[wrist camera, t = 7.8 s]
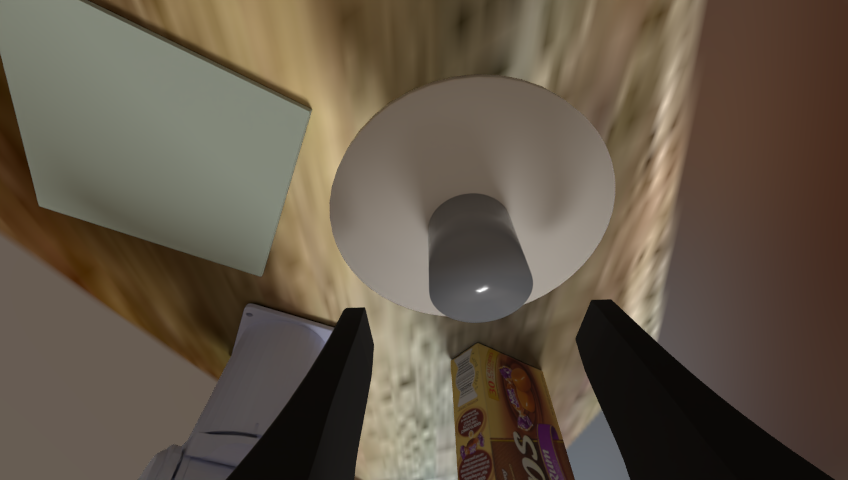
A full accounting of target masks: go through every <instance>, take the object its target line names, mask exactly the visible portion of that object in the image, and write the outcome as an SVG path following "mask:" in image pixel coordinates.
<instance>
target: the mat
mask: <svg viewBox="0 0 848 480" xmlns="http://www.w3.org/2000/svg"><path fill="white" fill-rule="evenodd" d="M0 54H1V58H2V62H3V66H4V69H5V73H6V77H7V81H8V85H9V89H10V93H11V97H12V101H13V105H14V109H15V113H16V117H17V121H18V125H19V129H20V133H21V137H22V141H23V145H24V149H25V153H26V157H27V161H28V164H29V168H30V172H31V176H32V180H33V184H34V188H35V192H36V196H37V200H38V204H39V206H41V207H44V208H47V209H50V210H53V211H56V212H59V213H63V214H66V215H69V216H72V217H75V218H78V219H81V220H84V221H88V222H91V223H94V224H97V225H100V226H103V227H106V228H109V229H113V230H116V231H119V232H122V233H125V234H128V235H131V236H134V237H138V238H141V239H144V240H147V241H150V242H153V243H156V244H160V245H163V246H166V247H169V248H172V249H175V250H178V251H181V252H185V253H188V254H191V255H194V256H197V257H200V258H203V259H206V260H210V261H213V262H216V263H219V264H222V265H225V266H228V267H231V268H235V269H238V270H241V271H244V272H247V273H250V274H253V275H256V276H260V277H262V275H263V273H264V269H265V266H266V263H267V259H268V256H269V253H270V249H271V246H272V242H273V239H274V236H275V232H276V229H277V226H278V222H279V219H280V216H281V212H282V209H283V206H284V202H285V199H286V195H287V192H288V189H289V185H290V182H291V179H292V175H293V172H294V169H295V165H296V162H297V158H298V155H299V152H300V148H301V145H302V142H303V138H304V135H305V132H306V128H307V125H308V122H309V118H310V115H311V111H312V109H310V108H308V107H306V106H304V105H302V104H300V103H298V102H296V101H294V100H292V99H290V98H288V97H285V96H283V95H281V94H279V93H277V92H275V91H273V90H271V89H269V88H267V87H265V86H263V85H261V84H259V83H257V82H255V81H253V80H251V79H248V78H246V77H244V76H242V75H240V74H238V73H236V72H234V71H232V70H230V69H228V68H226V67H224V66H222V65H220V64H218V63H216V62H214V61H211V60H209V59H207V58H205V57H203V56H201V55H199V54H197V53H195V52H193V51H191V50H189V49H187V48H185V47H183V46H181V45H179V44H177V43H174V42H172V41H170V40H168V39H166V38H164V37H162V36H160V35H158V34H156V33H154V32H152V31H150V30H148V29H146V28H144V27H142V26H139V25H137V24H135V23H133V22H131V21H129V20H127V19H125V18H123V17H121V16H119V15H117V14H115V13H113V12H111V11H109V10H107V9H105V8H102V7H100V6H98V5H96V4H94V3H92V2H90V1H88V0H0Z"/></svg>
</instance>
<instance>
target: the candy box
mask: <svg viewBox="0 0 848 480" xmlns="http://www.w3.org/2000/svg"><path fill="white" fill-rule="evenodd" d="M451 375H452V388H453V404H454V421H455V436H456V454H457V470H458V480H575V479H574V475H573V472H572V469H571V465H570V462H569V459H568V455H567V452H566V449H565V445H564V442H563V438H562V435H561V431H560V428H559V425H558V422H557V418H556V415H555V412H554V408H553V405H552V402H551V398H550V395H549V391H548V388H547V385H546V382H545V378H544V375H543V372H542V371H541V370H538V369H536V368H534V367H532V366H529V365H527V364H524V363H522V362H520V361H518V360H516V359H514V358H511V357H509V356H507V355H504V354H502V353H500V352H497V351H495V350H493V349H491V348H489V347H486V346H484V345H481V344H479V343H476V344H475V345H473V346H472V347H470V348H469V349H467V350H466V351H464V352H463V353H461V354H460V355H459V356H457V357H456V358H455V359H453V360H451Z"/></svg>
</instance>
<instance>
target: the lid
mask: <svg viewBox="0 0 848 480" xmlns="http://www.w3.org/2000/svg"><path fill="white" fill-rule="evenodd" d="M614 199H615V175H614V170H613V165H612V160H611V158H610V155H609V152H608V150H607V147H606V145H605V143H604V141H603V140H602V138H601V136H600V135H599V133H598V132H597V130H596V129H595V127H594V126H593V125H592V124H591V123H590V122H589V121H588V120H587V118H586V117H585V116H584V115H583V114H582V113H580V112H579V111H578V110H577V109H575V108H574V107H573V106H572V105H570V104H569V103H568V102H567V101H565V100H564V99H563V98H561V97H560V96H559V95H557V94H555V93H553V92H551V91H549V90H547V89H546V88H544V87H542V86H539V85H536V84H534V83H531V82H528V81H525V80H522V79H517V78H512V77H507V76H501V75H482V74H474V75H465V76H456V77H450V78H446V79H443V80H439V81H435V82H431V83H428V84H426V85H423V86H421V87H418V88H416V89H414V90H411V91H409V92H407V93H405V94H404V95H402V96H400V97H399V98H397V99H395V100H393V101H392V102H390V103H389V104H388V105H386V106H385V107H384V108H382V109H381V110H380V111H379V112H377V113H376V114H375V115H374V116H373V117H372V118H371V119H370V120H369V121H368V122H367V123H366V124H365V125H364V126H363V127H362V128H361V129H360V131H359V132H358V133H357V135H356V136H355V138H354V139H353V141H352V142H351V143H350V145H349V147H348V149H347V151H346V153H345V155H344V157H343V159H342V161H341V163H340V165H339V167H338V169H337V172H336V175H335V179H334V182H333V185H332V190H331V197H330V221H331V226H332V232H333V235H334V238H335V241H336V244H337V247H338V249H339V251H340V253H341V255H342V257H343V258H344V260H345V262H346V263H347V264H348V266H349V267H350V269H351V270H352V271H353V272H354V273H355V274H356V275H357V277H358V278H359V279H360V280H361V281H362V282H363V283H365V284H366V285H367V286H368V287H369V288H371V289H372V290H373V291H375V292H376V293H378V294H379V295H381V296H382V297H384V298H386V299H388V300H390V301H392V302H394V303H396V304H398V305H401V306H403V307H406V308H408V309H412V310H415V311H419V312H422V313H427V314H432V315H440V316H447V317H449V318H452V319H455V320H458V321H463V322H470V323H480V322H489V321H494V320H497V319H500V318H503V317H505V316H508V315H510V314H512V313H513V312H515V311H516V310H518V309H519V308H520V307H521V306H522V305H524V304H526V303H529V302H531V301H533V300H535V299H537V298H539V297H541V296H543V295H545V294H547V293H548V292H550V291H551V290H553V289H555V288H556V287H558V286H559V285H561V284H562V283H563V282H564V281H566V280H567V279H568V278H569V277H571V276H572V275H573V274H574V273H575V272H576V271H577V270H578V269H579V268H580V267H581V266H582V265H583V264H584V263H585V262H586V260H587V259H588V258H589V257H590V256H591V254H592V253H593V252H594V250H595V249H596V247H597V246H598V244H599V242H600V241H601V239H602V237H603V235H604V233H605V231H606V229H607V226H608V224H609V221H610V217H611V214H612V211H613V205H614Z"/></svg>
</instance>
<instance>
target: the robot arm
mask: <svg viewBox="0 0 848 480" xmlns="http://www.w3.org/2000/svg"><path fill="white" fill-rule="evenodd" d="M576 343H577V346H578V350H579V353H580V356H581V360H582V363H583V366H584V369H585V372H586V374H587V376H588V379H589V381H590V383H591V386H592V388H593V390H594V393H595V395H596V397H597V399H598V402H599V404H600V406H601V408H602V411H603V413H604V415H605V417H606V420H607V422H608V424H609V426H610V428H611V431H612V433H613V435H614V438H615V440H616V442H617V445H618V447H619V450H620V452H621V455H622V457H623V459H624V462H625V465H626V468H627V471H628V474H629V477H630V480H835V479H833V478H831V477H830V476H829V475H827V474H826V473H824V472H823V471H821V470H820V469H818V468H817V467H815V466H814V465H813V464H811V463H810V462H808V461H807V460H805V459H804V458H802V457H801V456H799V455H798V454H796V453H795V452H793V451H792V450H791V449H789V448H788V447H786V446H785V445H783V444H782V443H781V442H779V441H778V440H777V439H775V438H774V437H772V436H771V435H769V434H768V433H767V432H766V431H764V430H763V429H761V428H760V427H759V426H757V425H756V424H755V423H754V422H752V421H751V420H749V419H748V418H747V417H746V416H744V415H743V414H742V413H740V412H739V411H738V410H736V409H735V408H734V407H732V406H731V405H730V404H729V403H727V402H726V401H725V400H724V399H722V398H721V397H720V396H718V395H717V394H716V393H715V392H714V391H712V390H711V389H710V388H709V387H708V386H706V385H705V384H704V383H703V382H702V381H700V380H699V379H698V378H697V377H696V376H694V375H693V374H692V373H691V372H690V371H689V370H687V369H686V368H685V367H684V366H683V365H682V364H681V363H679V362H678V361H677V360H676V359H675V358H674V357H672V356H671V355H670V354H669V353H668V352H667V351H666V350H665V349H664V348H663V347H662V346H660V345H659V344H658V343H657V342H656V341H655V340H654V339H653V338H652V337H651V336H650V335H649V334H647V333H646V332H645V331H644V330H643V329H642V328H641V327H640V326H639V325H638V324H637V323H636V322H635V321H634V320H633V319H631V318H630V317H629V316H628V315H627V314H626V313H625V312H624V311H623V310H622V309H621V308H620V307H619V306H618V305H617V304H615V303H614V302H613V301H612V300H611V299H608V300H591V302H590V305H589V307H588V309H587V312H586V314H585V317H584V319H583V322H582V324H581V327H580V329H579V331H578V334H577V336H576ZM373 352H374V343H373V339H372V335H371V330H370V326H369V322H368V318H367V314H366V310H365V307H364V308H346V309H345V310H344V311H343V312H342V314H341V316H340V318H339V320H338V322H337V324H336V326H335V328H334V327H331V326H327V325H324V324H320V323H317V322H314V321H310V320H307V319H303V318H300V317H297V316H293V315H290V314H286V313H283V312H280V311H276V310H273V309H269V308H266V307H263V306H259V305H256V304H252V303H251V304H247V305H246V307H245V308H244V312H243V315H242V319H241V323H240V326H239V330H238V334H237V337H236V341H235V345H234V348H233V352H232V356H231V358H230V359H229V361H228V363H227V365H226V367H225V369H224V371H223V373H222V375H221V377H220V379H219V381H218V383H217V385H216V387H215V388H214V390H213V392H212V395H211V396H210V398H209V400H208V402H207V404H206V406H205V408H204V410H203V412H202V413H201V415H200V417H199V419H198V421H197V423H196V425H195V427H194V429H193V431H192V433H191V435H190V437H189V438H188V440H187V441H186V442H185V443H184V444H183V445H182V446H178V445H175V444H173V445H171V446H169V447H168V448H167V449H165V450H163V451H161V452H159V453H157V454H156V455H155V456H154V457H153V458H152V459H151V461H150V462H149V464H148V465H147V467H146V468H145V469H144V471H143V472H142V474H141V476H140V477H139V479H138V480H354V476H355V467H356V460H357V453H358V447H359V441H360V436H361V431H362V425H363V420H364V415H365V409H366V404H367V398H368V393H369V388H370V382H371V376H372V365H373Z"/></svg>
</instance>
